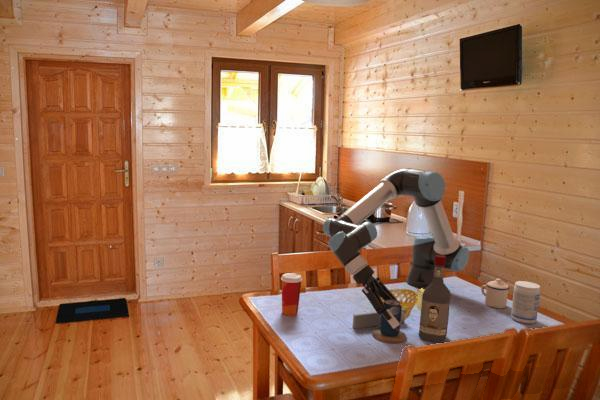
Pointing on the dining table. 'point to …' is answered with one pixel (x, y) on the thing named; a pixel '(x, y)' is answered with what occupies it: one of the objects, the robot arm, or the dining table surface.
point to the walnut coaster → (397, 339)
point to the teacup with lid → (496, 293)
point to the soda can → (396, 311)
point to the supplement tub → (525, 302)
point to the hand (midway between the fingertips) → (400, 322)
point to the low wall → (368, 319)
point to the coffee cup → (290, 293)
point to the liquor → (435, 306)
